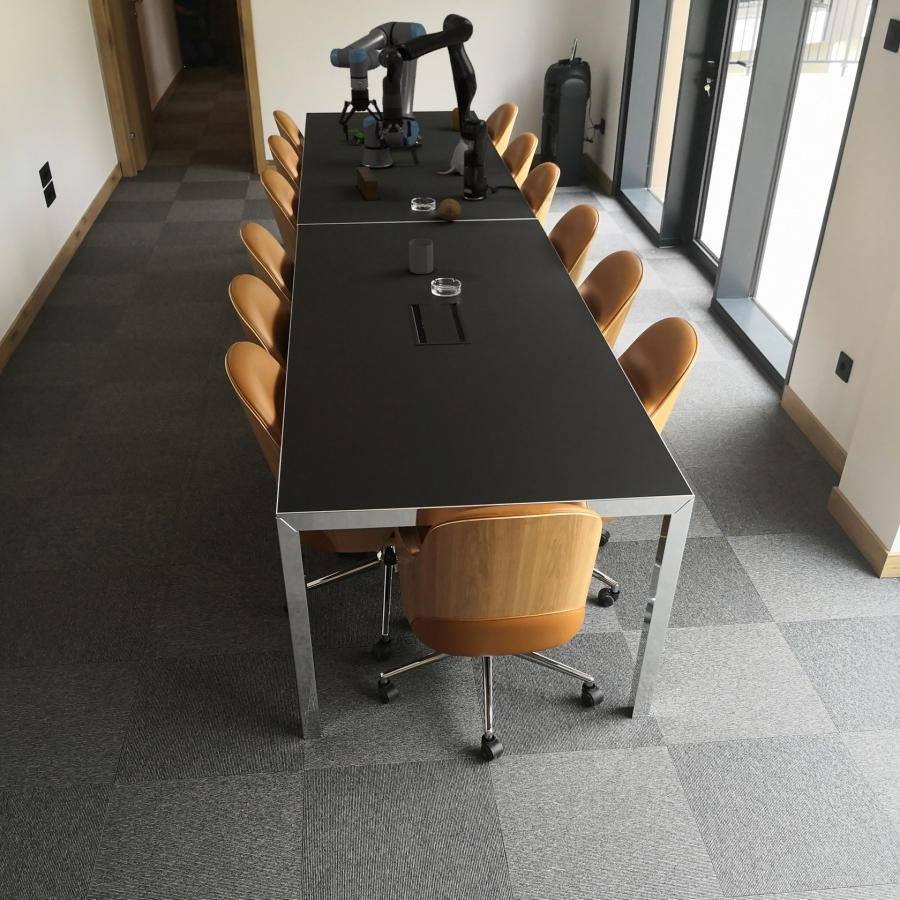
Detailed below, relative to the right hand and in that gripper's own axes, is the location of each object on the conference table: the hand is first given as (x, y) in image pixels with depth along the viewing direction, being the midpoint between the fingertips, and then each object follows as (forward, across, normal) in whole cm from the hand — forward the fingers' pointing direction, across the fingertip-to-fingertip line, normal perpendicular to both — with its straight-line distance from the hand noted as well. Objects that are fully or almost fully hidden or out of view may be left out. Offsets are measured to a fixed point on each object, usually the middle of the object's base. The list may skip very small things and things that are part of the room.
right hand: (393, 148), depth 344 cm
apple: (+28, +57, +148) cm, 161 cm away
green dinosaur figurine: (+28, +4, +129) cm, 132 cm away
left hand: (+6, -8, +45) cm, 46 cm away
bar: (+28, -8, +37) cm, 47 cm away
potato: (+28, +21, -8) cm, 36 cm away
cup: (+28, +1, -62) cm, 68 cm away
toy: (+28, +36, +58) cm, 73 cm away
